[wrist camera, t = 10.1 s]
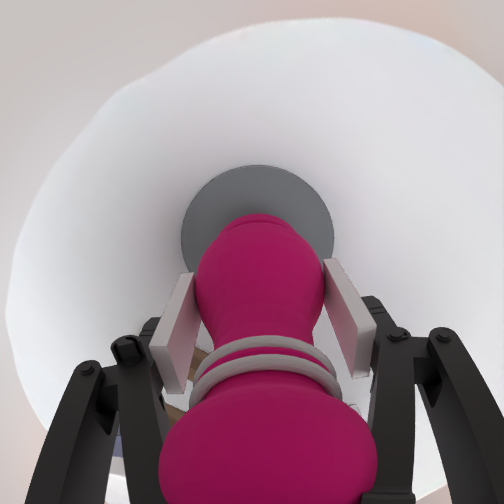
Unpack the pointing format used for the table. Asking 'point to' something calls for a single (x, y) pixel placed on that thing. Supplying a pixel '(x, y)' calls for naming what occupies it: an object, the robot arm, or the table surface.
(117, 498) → the bowl
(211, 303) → the pepper mill
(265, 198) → the coaster
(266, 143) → the table surface
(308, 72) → the table surface
